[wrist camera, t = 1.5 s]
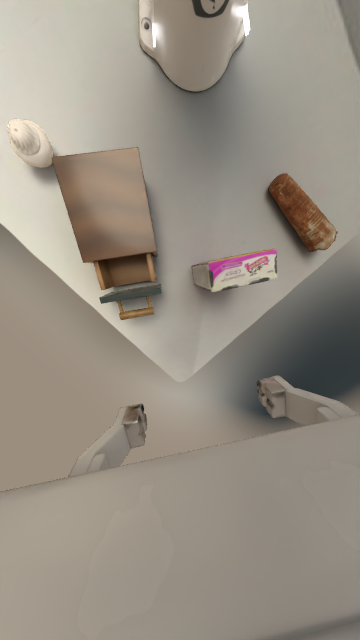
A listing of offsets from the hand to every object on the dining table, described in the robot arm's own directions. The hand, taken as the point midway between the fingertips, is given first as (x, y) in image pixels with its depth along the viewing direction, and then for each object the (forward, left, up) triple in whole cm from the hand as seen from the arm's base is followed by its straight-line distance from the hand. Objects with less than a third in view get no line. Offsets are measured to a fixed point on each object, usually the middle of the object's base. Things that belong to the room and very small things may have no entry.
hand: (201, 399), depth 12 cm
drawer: (-9, -8, -32) cm, 34 cm away
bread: (-16, +32, -33) cm, 49 cm away
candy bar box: (-7, +12, -33) cm, 36 cm away
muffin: (-33, -19, -33) cm, 51 cm away
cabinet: (-20, -8, -33) cm, 39 cm away
